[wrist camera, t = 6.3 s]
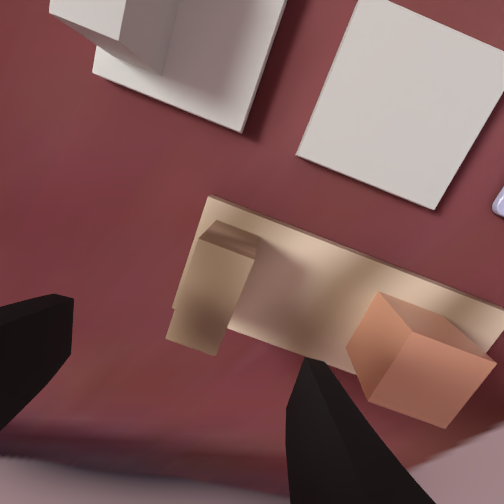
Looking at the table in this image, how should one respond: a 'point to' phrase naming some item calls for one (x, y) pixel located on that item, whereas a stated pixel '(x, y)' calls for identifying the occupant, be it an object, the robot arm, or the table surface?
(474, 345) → the terracotta cube
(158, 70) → the white block
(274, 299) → the birch strip
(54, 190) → the table surface
